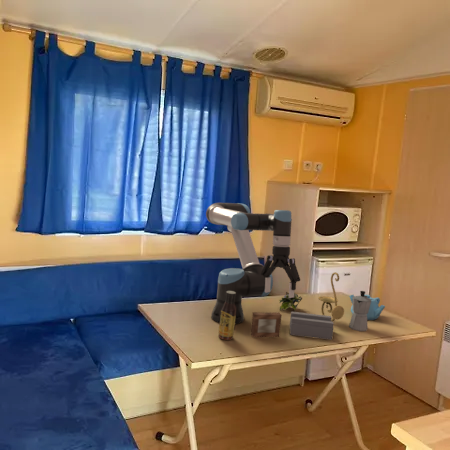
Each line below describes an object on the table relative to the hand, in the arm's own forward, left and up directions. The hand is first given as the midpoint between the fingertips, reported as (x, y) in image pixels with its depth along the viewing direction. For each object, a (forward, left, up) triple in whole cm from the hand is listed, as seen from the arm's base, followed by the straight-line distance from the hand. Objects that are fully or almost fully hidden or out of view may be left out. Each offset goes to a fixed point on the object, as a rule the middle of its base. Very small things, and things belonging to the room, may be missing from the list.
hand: (279, 294), depth 197 cm
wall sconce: (+26, +25, -18) cm, 40 cm away
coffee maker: (+40, +22, -18) cm, 49 cm away
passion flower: (+8, +37, -18) cm, 42 cm away
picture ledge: (+16, +7, -18) cm, 24 cm away
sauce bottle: (-20, -12, -18) cm, 30 cm away
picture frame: (-4, -4, -18) cm, 19 cm away
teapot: (+46, +42, -18) cm, 65 cm away
